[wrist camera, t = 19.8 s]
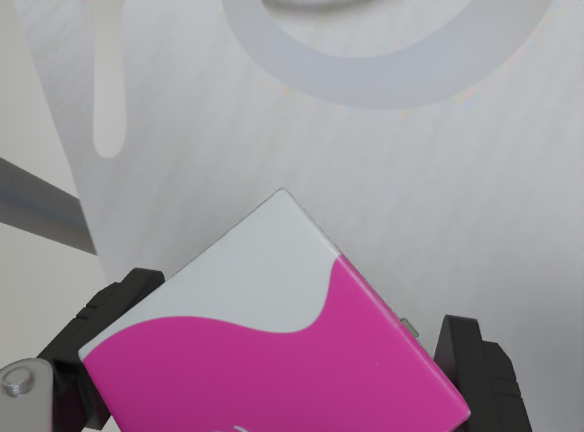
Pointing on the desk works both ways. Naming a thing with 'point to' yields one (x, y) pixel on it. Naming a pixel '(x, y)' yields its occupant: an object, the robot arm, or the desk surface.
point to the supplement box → (269, 343)
